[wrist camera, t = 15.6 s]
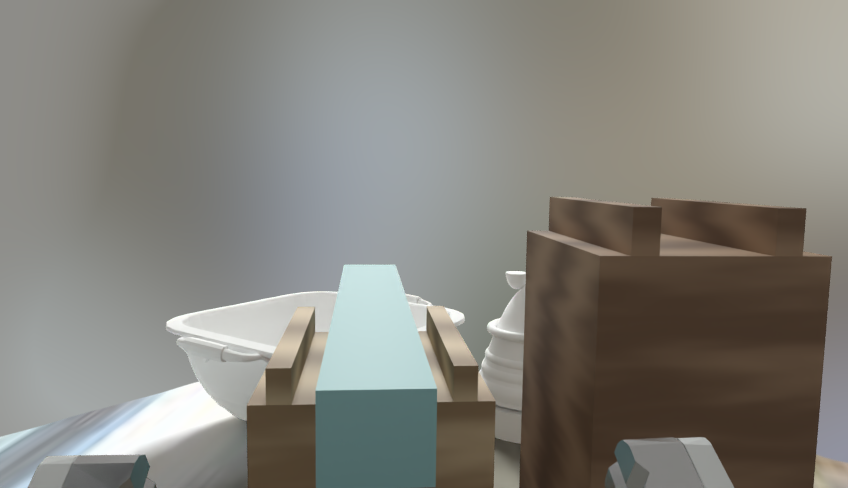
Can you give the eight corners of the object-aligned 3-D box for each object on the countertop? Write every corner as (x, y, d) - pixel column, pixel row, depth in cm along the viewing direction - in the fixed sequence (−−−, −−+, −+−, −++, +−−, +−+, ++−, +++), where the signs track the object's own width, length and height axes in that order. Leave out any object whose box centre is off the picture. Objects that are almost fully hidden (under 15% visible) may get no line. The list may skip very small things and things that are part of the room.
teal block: (435, 487, 19) (437, 388, 19) (315, 490, 19) (315, 390, 18) (395, 307, 45) (395, 264, 44) (344, 307, 44) (344, 264, 44)
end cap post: (786, 814, 30) (835, 208, 27) (575, 831, 29) (602, 206, 26) (666, 632, 42) (691, 198, 39) (514, 640, 41) (528, 196, 38)
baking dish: (331, 363, 100) (331, 282, 99) (492, 401, 84) (494, 305, 83) (122, 433, 72) (118, 322, 71) (303, 510, 56) (302, 368, 55)
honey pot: (461, 435, 73) (465, 278, 71) (488, 398, 85) (492, 263, 83) (577, 452, 69) (584, 286, 67) (588, 411, 81) (594, 269, 79)
